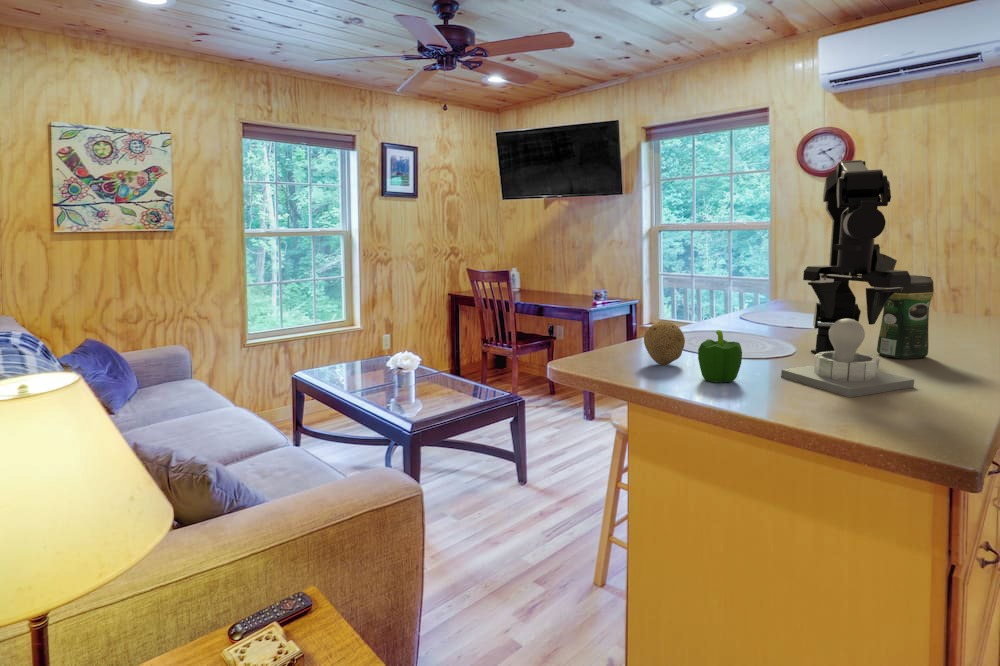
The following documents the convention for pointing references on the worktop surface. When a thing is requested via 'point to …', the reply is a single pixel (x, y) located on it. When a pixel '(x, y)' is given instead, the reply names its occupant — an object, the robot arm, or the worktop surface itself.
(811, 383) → the socket plate
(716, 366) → the bell pepper
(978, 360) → the worktop surface
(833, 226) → the robot arm
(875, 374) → the socket collar
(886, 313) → the coffee jar
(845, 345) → the lightbulb
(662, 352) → the natural sponge
